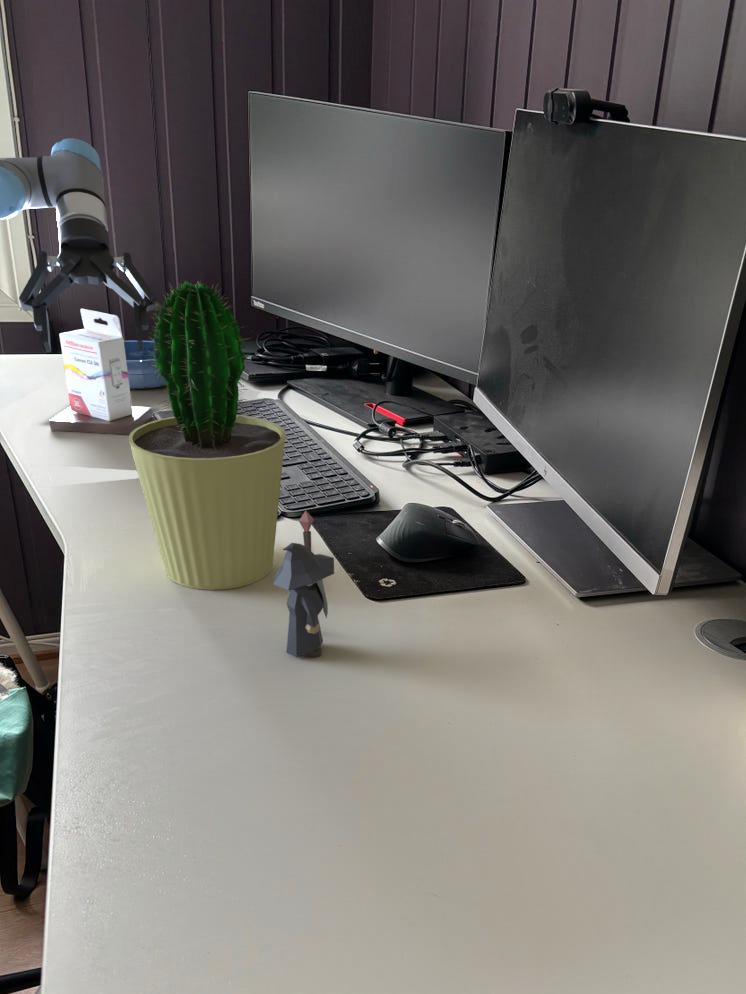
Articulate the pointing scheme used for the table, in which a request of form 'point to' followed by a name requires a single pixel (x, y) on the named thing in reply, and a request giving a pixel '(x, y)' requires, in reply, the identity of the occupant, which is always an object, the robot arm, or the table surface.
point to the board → (100, 422)
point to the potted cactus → (208, 451)
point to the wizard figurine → (304, 592)
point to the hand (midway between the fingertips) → (94, 347)
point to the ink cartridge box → (97, 368)
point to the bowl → (142, 366)
